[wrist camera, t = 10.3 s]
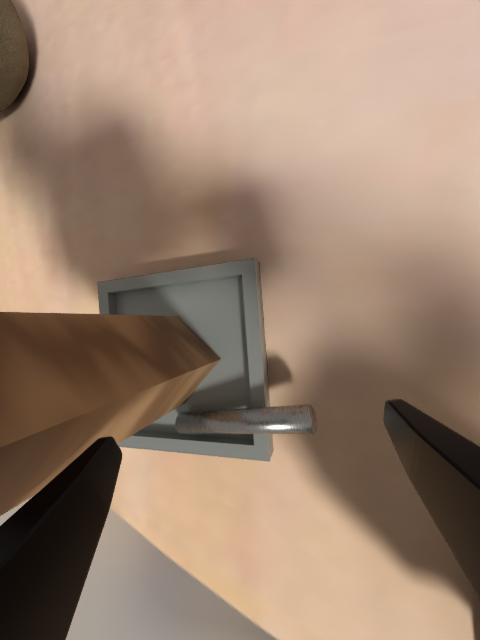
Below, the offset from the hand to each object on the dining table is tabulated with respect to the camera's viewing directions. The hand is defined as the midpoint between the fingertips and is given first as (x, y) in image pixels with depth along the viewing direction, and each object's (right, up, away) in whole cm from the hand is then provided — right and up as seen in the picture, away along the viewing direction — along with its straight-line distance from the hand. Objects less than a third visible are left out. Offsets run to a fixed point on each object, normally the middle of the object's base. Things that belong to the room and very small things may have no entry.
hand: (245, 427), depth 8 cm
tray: (-5, 0, +13) cm, 14 cm away
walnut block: (-5, 0, +12) cm, 13 cm away
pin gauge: (0, -4, +9) cm, 10 cm away
